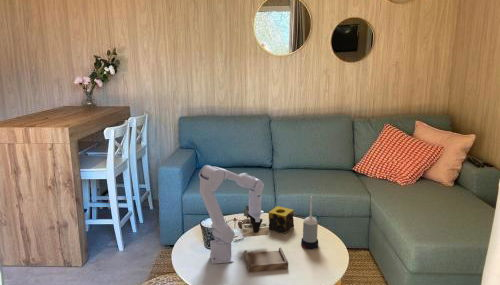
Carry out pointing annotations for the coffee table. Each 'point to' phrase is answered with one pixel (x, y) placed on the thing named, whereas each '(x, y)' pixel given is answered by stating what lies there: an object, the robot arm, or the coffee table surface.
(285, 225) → the candle
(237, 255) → the coffee table surface
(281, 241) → the coffee table surface
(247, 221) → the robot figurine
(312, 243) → the humidifier
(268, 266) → the wooden tray
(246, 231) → the tumbler tray
